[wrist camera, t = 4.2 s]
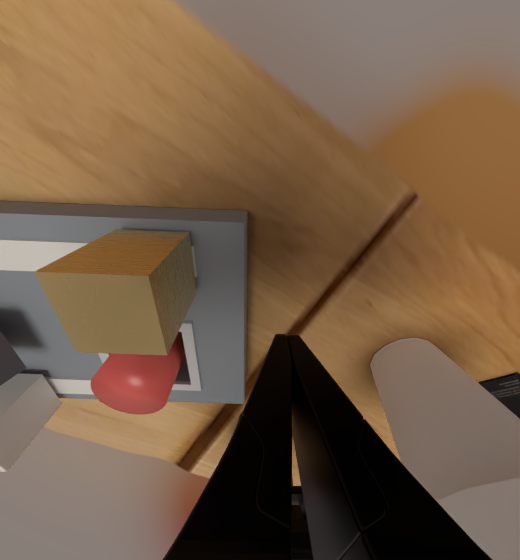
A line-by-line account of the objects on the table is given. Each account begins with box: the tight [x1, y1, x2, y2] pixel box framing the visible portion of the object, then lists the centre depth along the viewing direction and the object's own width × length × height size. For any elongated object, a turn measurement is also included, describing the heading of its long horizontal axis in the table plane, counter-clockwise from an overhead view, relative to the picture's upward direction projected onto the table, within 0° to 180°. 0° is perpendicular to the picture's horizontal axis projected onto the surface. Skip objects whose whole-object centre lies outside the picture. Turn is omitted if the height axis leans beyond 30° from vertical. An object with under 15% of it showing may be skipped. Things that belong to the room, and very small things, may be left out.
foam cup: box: [370, 338, 520, 560], centre depth 16 cm, size 10×9×13 cm
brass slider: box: [34, 229, 197, 355], centre depth 11 cm, size 4×4×5 cm
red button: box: [91, 332, 185, 414], centre depth 18 cm, size 5×5×6 cm
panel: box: [0, 201, 248, 404], centre depth 18 cm, size 17×22×3 cm
